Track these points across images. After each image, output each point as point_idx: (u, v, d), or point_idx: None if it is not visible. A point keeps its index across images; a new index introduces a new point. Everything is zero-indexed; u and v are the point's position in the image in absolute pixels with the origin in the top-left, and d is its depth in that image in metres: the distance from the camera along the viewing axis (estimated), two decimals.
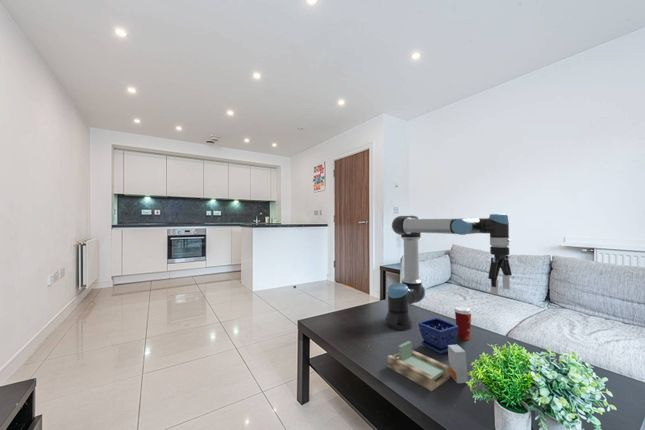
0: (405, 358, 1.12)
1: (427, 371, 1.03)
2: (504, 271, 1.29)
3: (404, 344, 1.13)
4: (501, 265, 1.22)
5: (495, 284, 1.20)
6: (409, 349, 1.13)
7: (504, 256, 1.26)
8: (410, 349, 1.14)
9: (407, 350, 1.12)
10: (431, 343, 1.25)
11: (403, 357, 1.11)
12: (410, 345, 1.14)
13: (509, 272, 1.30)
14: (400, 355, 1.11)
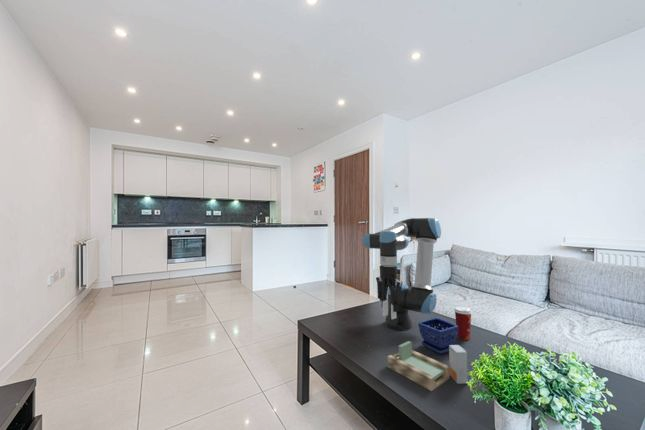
0: (405, 358, 1.12)
1: (427, 371, 1.03)
2: None
3: (404, 344, 1.13)
4: (383, 285, 1.20)
5: (382, 305, 1.22)
6: (409, 349, 1.13)
7: (392, 277, 1.17)
8: (410, 349, 1.14)
9: (407, 350, 1.12)
10: (431, 343, 1.25)
11: (403, 357, 1.11)
12: (410, 345, 1.14)
13: (396, 301, 1.16)
14: (400, 355, 1.11)
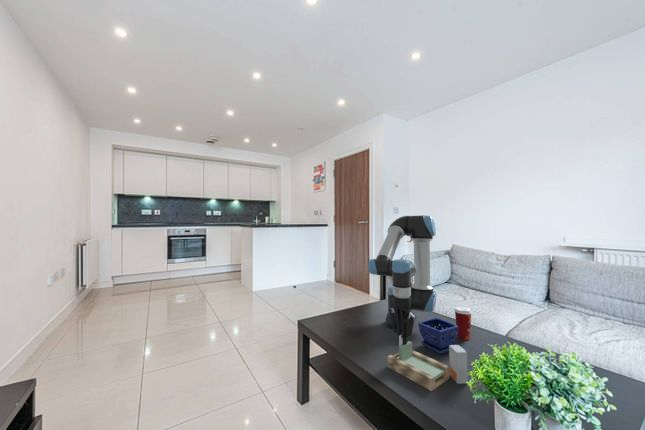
0: (405, 358, 1.11)
1: (427, 371, 1.03)
2: None
3: None
4: (397, 317, 1.14)
5: (398, 339, 1.15)
6: (410, 349, 1.13)
7: (406, 309, 1.11)
8: (411, 349, 1.14)
9: (407, 350, 1.12)
10: (431, 343, 1.25)
11: (403, 357, 1.11)
12: (410, 345, 1.14)
13: (405, 334, 1.11)
14: (400, 355, 1.11)
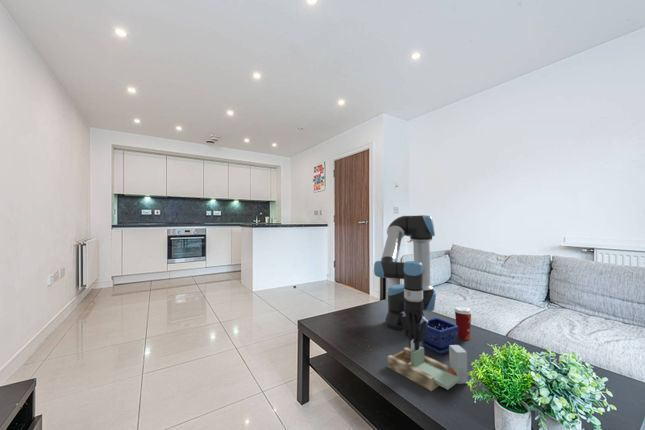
0: (417, 364, 1.07)
1: (442, 379, 0.98)
2: None
3: (416, 350, 1.08)
4: (408, 321, 1.09)
5: (410, 344, 1.10)
6: (422, 355, 1.09)
7: (418, 313, 1.06)
8: (423, 354, 1.09)
9: (419, 356, 1.07)
10: (431, 343, 1.25)
11: (415, 363, 1.06)
12: (422, 351, 1.09)
13: (418, 339, 1.07)
14: (412, 361, 1.06)
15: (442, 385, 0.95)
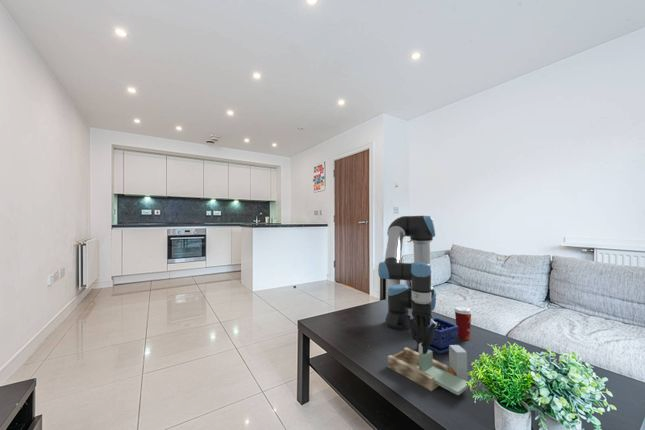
0: (426, 368, 1.04)
1: (451, 384, 0.95)
2: None
3: None
4: (416, 324, 1.06)
5: (418, 348, 1.07)
6: (430, 358, 1.05)
7: (427, 315, 1.03)
8: (431, 358, 1.06)
9: (427, 360, 1.04)
10: None
11: (424, 367, 1.03)
12: (431, 354, 1.06)
13: (426, 342, 1.04)
14: (421, 365, 1.03)
15: (452, 390, 0.92)
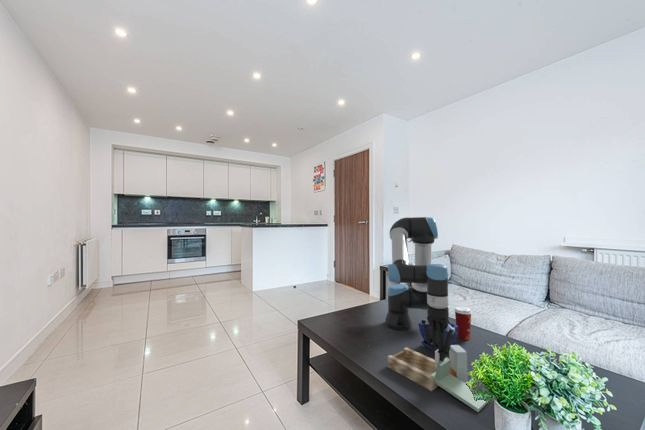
0: (442, 377, 0.98)
1: (471, 398, 0.90)
2: None
3: (443, 362, 0.99)
4: (432, 329, 1.01)
5: (434, 355, 1.01)
6: (447, 367, 1.00)
7: (444, 321, 0.98)
8: (449, 367, 1.00)
9: (445, 368, 0.99)
10: None
11: (441, 376, 0.97)
12: (449, 363, 1.00)
13: (443, 349, 0.98)
14: (438, 374, 0.97)
15: (472, 406, 0.87)
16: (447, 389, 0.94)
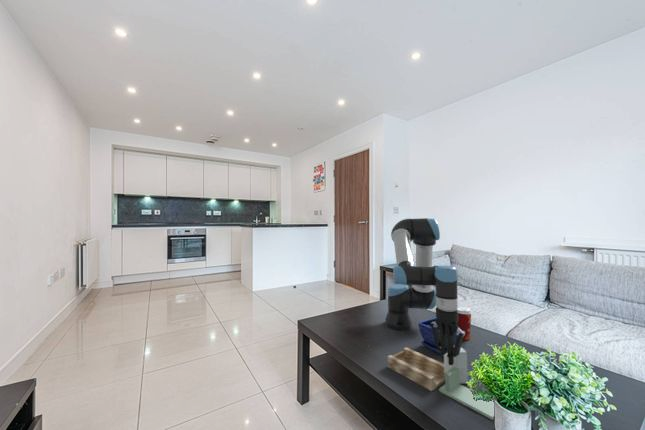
0: (452, 388, 0.95)
1: (484, 407, 0.87)
2: None
3: (451, 372, 0.96)
4: (441, 333, 0.98)
5: (443, 359, 0.99)
6: (457, 377, 0.97)
7: (453, 324, 0.95)
8: (458, 377, 0.98)
9: (454, 379, 0.96)
10: (431, 343, 1.25)
11: (451, 387, 0.95)
12: (457, 372, 0.98)
13: (453, 353, 0.95)
14: (447, 385, 0.94)
15: (485, 415, 0.84)
16: (459, 400, 0.91)
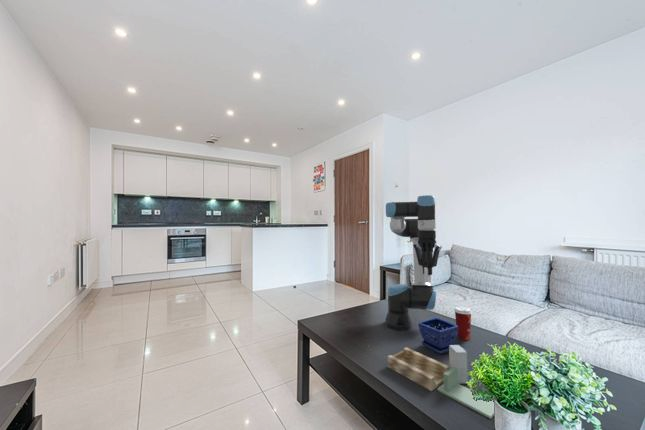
0: (451, 388, 0.96)
1: (482, 406, 0.87)
2: None
3: (449, 371, 0.97)
4: (422, 249, 1.19)
5: (423, 271, 1.20)
6: (455, 377, 0.98)
7: (431, 240, 1.16)
8: (456, 376, 0.98)
9: (453, 378, 0.97)
10: (431, 343, 1.25)
11: (449, 387, 0.95)
12: (456, 372, 0.98)
13: None
14: (446, 385, 0.95)
15: (484, 414, 0.84)
16: (457, 400, 0.91)
